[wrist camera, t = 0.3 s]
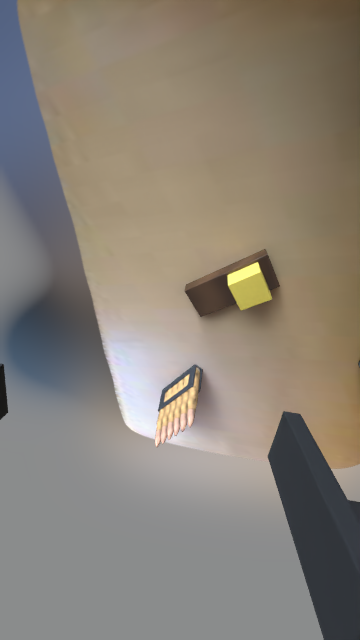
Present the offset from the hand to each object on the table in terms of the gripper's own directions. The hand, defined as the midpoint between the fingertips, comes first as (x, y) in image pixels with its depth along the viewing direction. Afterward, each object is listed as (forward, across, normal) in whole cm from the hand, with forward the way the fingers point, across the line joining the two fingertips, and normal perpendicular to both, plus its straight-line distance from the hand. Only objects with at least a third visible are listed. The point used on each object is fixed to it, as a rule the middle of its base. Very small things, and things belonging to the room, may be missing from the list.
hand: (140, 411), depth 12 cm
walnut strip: (+28, +7, +2) cm, 29 cm away
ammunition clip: (+34, +3, -20) cm, 40 cm away
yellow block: (+25, +9, +3) cm, 27 cm away
